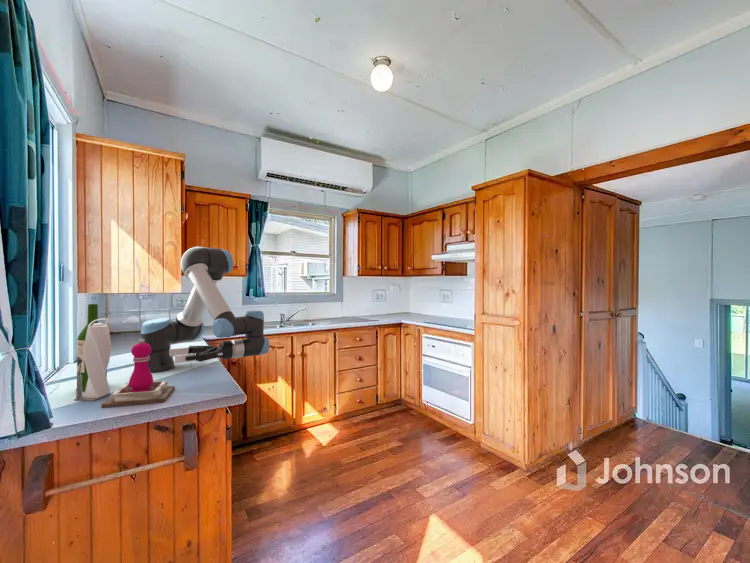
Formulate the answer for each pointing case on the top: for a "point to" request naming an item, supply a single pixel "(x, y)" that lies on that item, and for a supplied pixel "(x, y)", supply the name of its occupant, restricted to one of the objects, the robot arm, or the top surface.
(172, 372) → the top surface
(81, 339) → the wine bottle
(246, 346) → the robot arm
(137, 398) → the stand
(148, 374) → the pepper mill
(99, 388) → the skyscraper
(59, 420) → the top surface
